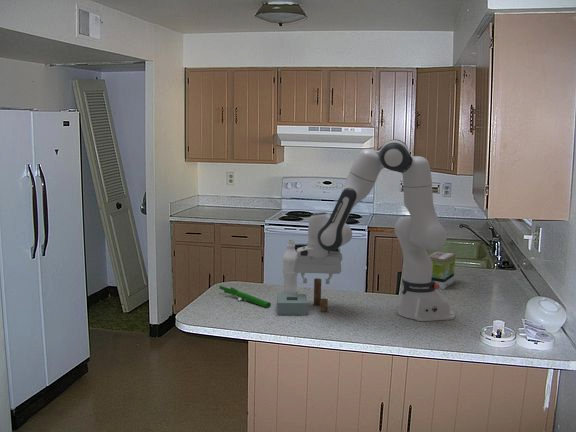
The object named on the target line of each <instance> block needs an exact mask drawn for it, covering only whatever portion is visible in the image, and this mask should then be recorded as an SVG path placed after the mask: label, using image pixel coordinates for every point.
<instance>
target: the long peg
mask: <svg viewBox="0 0 576 432" xmlns="http://www.w3.org/2000/svg"><path fill="white" fill-rule="evenodd" d="M320 299H322V279H321V278H318V277H317V278H314V279H313V305H314V306H316V305H317V306H318V307H320Z"/></svg>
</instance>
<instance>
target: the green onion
mask: <svg viewBox="0 0 576 432" xmlns="http://www.w3.org/2000/svg"><path fill="white" fill-rule="evenodd" d="M219 289H220V290H222V291H223V293H225V294H227V295H228V294H229V295H231V296H232V295H233V296H236V297H238V298H237V300H238V301H244V302H250V303H253V304H255V305H258V306H261V307H263V308H266V309H269V308H270V307H271V304H272V303H271V302H269V301H267V300H263V299H261V298H259V297H256V296H253V295H250V294H249V293H246V292H242V291H240V290H238V289H235V288H234V287H232V286H231V287H230V288H228V287H225V286H222V285H219Z"/></svg>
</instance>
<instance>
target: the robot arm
mask: <svg viewBox="0 0 576 432" xmlns="http://www.w3.org/2000/svg"><path fill="white" fill-rule="evenodd" d="M383 169H386V170H388V171H393V172H397V173H401V175H402V189H403V204H404V206H405V208H406V210H407V212H408V213H409V216H403V217H401V218H399V219H398V220H397V221H396V222H395V225H394V228H393V229H394V230H393V231H394V234H395V236H396V237H397V239H398V241H399V245H400V249H401V251H402V257H403V278H402V280H401V288H400V289H401V290H400V291H401V298H400V302H399V306H398V310H397V314H398V315H400V316H401V317H404V318H407V319H410V320H411V319H413V320H414V321H418V322H431V321H433V322H435V321H446V320H448V321H450V320H454V319H455V318H456V315H455V314H456V313H455V312H454V311H453V309H450V305H449V301H448V299H447V297H445V296H444V295H443V294H441V293H440V292H439V291H438V290H440V289H439V288H440V286H439V284H437V283H435V282H434V281H432V280H431V278H432V261H431V259H430V257H429V256H428V255H429V254H428V251H427V250H429V251H431V250H433V251H434V250H435V251H436V250H439V249H441V248H443V247H444V245H445V244H446V241H447V237H448V236H447V231H446V229H445V227H444V226H443V225H442V224H441V223H440V220H439V218H438V214H437V212H436V209H435V205H434V197H433V196H434V195H433V177H432V171H431V167H430V163H429V160H428V159H427V158H425V157H423V156H420V155H419V156H418V155H416V156H415V155H412V154H411V153H410V150H409V148H408V145H407V144H406V143H405V142H404V141H403V140H400V139H390V140H389V141H387V142H385V143H384V144H383V145H381V146H380V147H379V148H378V149H377V150H375V149H371V148H364V149H362V150H360V152H359V153H358V155H357V156H356V157H355V159H354V160H353V163H352V165H351V167H350V169H349V172H348V175H347V177H346V179H345V183H344V185H343V188H342V190H341V193H340V195H339V198H338V200H337V202H336V204H335V206H334V208H333V210H332V213H331V214H330V213H328V212H317V213H313V214H311V215H310V217H309V220H308V228H307V235H308V240H307V245H305V246H301V247H297V249H296V252H297V255H296V256H295V257H294V262H293V271H294V272H295V273H298V274H300V275H301V278H302V281H303V282H302V283H303V284H307V283H308V278H305V274H327V275H328V278H325V284H326V285H330V280H331V279H332V277H333V275H339V274H341V273H342V263H341V262H342V261H343V254H342V253H341V252H339V251H336V250H337V249H339V248H341V247H342V246H344V245H346V244H347V243H349V242H350V241H351V240H352V237H353V231H352V228H351V226H350V225H349V224H348V223H346V222H347V220H348V218H349V216H350V213H351V212H352V210H353V209H354V207H355V206H357V204H358V203H360V202H362V200H365V198H367V197H368V196H369V195H370V193H371V191H372V190H373V188H374V186H375V184H376V182H377V179H378V177H379V175H380V173H381V171H383Z"/></svg>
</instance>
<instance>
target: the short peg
mask: <svg viewBox="0 0 576 432" xmlns="http://www.w3.org/2000/svg"><path fill="white" fill-rule="evenodd" d="M328 302H329V299H327V298H323V297H322V298H321V299H320V305H319V307H320V309H319V310H320V311H319V312H320V313H328V308H329V303H328Z"/></svg>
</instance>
